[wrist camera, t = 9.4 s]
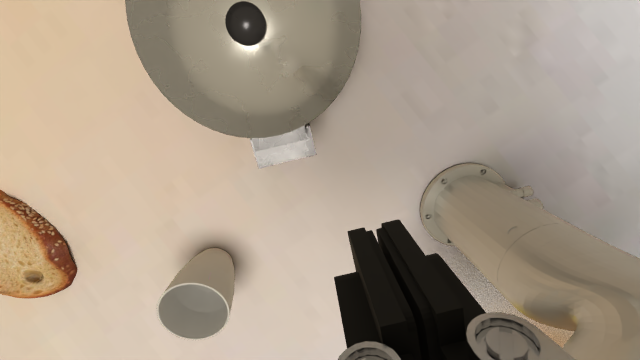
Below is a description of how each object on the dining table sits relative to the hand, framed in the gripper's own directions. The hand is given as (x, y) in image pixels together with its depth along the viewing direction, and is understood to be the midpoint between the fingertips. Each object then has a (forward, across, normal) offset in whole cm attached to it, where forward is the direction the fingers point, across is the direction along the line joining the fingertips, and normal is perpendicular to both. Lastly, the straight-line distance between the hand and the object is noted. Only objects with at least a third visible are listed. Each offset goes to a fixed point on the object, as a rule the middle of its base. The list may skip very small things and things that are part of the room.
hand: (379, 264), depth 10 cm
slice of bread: (+32, +45, +5) cm, 55 cm away
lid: (+20, +4, -12) cm, 24 cm away
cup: (+31, +19, +16) cm, 40 cm away
